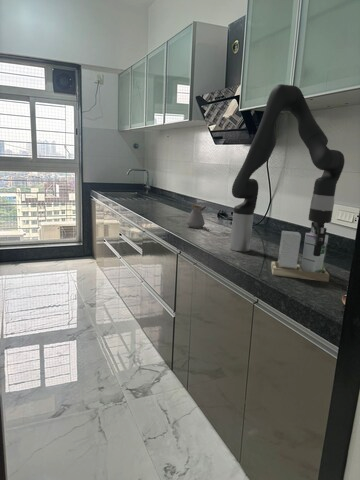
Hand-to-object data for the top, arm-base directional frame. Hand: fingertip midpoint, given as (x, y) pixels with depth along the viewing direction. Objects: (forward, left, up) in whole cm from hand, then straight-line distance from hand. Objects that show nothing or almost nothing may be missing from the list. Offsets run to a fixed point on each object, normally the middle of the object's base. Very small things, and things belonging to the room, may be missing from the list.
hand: (314, 253), depth 127 cm
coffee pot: (-79, -52, -10) cm, 95 cm away
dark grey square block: (-11, +2, -10) cm, 15 cm away
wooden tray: (0, -4, -10) cm, 11 cm away
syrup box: (0, 0, -7) cm, 7 cm away
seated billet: (0, -9, -9) cm, 12 cm away
